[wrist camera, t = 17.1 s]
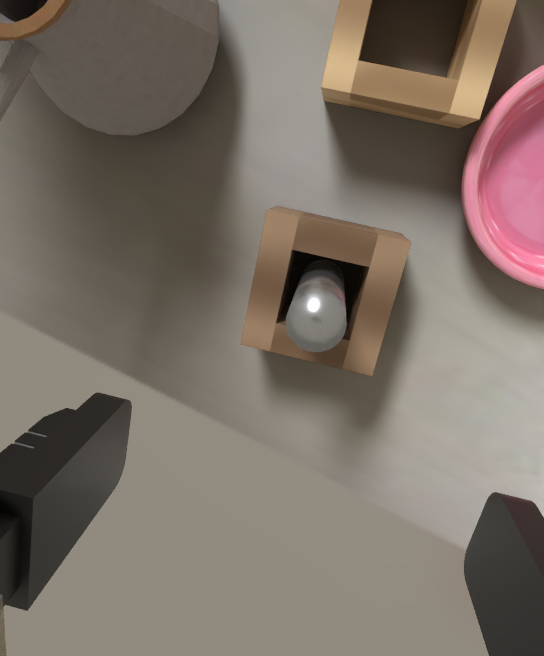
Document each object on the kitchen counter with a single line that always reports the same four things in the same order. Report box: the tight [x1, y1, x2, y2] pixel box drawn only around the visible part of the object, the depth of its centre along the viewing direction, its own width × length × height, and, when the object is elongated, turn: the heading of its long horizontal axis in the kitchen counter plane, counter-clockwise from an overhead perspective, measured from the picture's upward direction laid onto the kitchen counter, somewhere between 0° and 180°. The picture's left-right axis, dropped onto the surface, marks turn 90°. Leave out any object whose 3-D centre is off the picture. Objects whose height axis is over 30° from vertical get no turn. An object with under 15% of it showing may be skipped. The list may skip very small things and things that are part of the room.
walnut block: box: [241, 206, 411, 376], centre depth 30 cm, size 8×8×4 cm
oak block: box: [321, 0, 517, 129], centre depth 25 cm, size 8×8×4 cm
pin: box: [286, 260, 347, 352], centre depth 27 cm, size 3×3×10 cm
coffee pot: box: [0, 0, 219, 135], centre depth 24 cm, size 21×12×15 cm, turn 155°
